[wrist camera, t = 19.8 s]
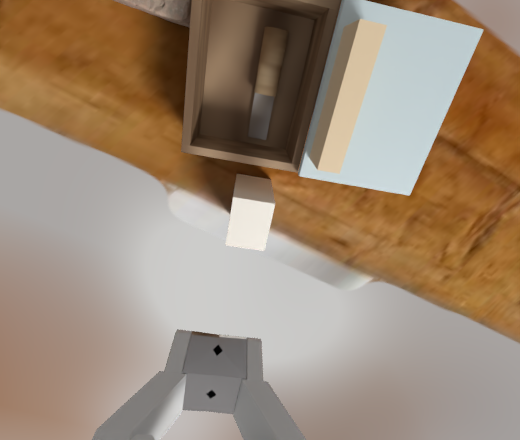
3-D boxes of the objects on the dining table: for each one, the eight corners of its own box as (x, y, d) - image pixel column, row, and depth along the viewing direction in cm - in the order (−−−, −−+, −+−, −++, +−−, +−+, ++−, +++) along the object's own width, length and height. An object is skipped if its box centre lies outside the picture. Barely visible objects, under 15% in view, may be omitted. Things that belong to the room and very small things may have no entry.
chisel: (287, 33, 30) (289, 31, 28) (266, 139, 35) (267, 143, 33) (264, 28, 30) (265, 25, 28) (246, 135, 35) (246, 139, 33)
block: (270, 179, 38) (275, 203, 31) (262, 219, 41) (264, 250, 34) (236, 173, 38) (233, 197, 31) (230, 214, 40) (225, 245, 33)
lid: (475, 31, 25) (523, 22, 21) (405, 192, 32) (430, 211, 27) (342, -2, 24) (363, -19, 19) (297, 173, 30) (305, 190, 26)
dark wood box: (322, 13, 30) (341, -2, 24) (289, 155, 37) (297, 172, 31) (206, -14, 29) (194, -38, 23) (193, 138, 36) (181, 152, 29)
